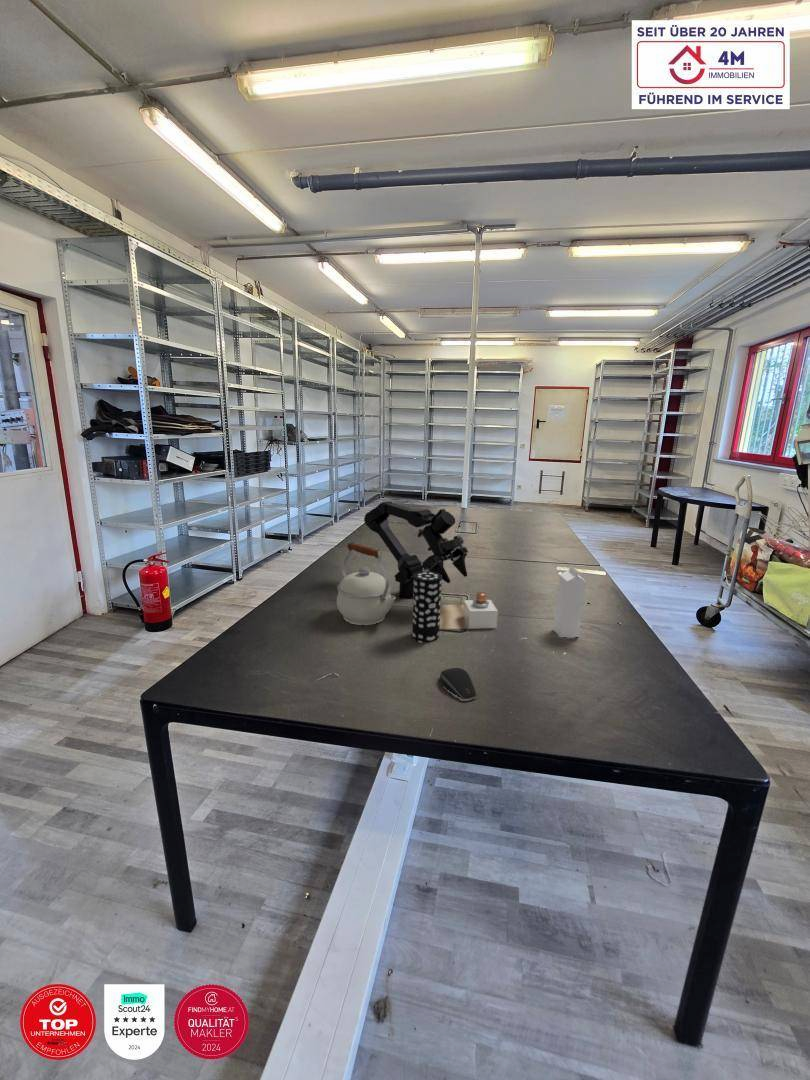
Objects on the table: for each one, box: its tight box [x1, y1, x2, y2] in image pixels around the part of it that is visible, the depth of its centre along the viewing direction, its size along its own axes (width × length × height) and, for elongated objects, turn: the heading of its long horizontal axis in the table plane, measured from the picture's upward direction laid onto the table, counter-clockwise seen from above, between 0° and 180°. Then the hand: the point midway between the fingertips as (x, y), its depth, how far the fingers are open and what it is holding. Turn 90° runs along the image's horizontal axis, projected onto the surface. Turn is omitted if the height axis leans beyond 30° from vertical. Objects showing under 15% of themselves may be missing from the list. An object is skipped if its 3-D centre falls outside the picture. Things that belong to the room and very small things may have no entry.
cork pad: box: [439, 604, 480, 630], centre depth 150 cm, size 19×19×1 cm
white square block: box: [463, 599, 499, 629], centre depth 145 cm, size 9×9×6 cm
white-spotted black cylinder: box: [411, 570, 443, 644], centre depth 133 cm, size 8×8×20 cm
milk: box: [552, 565, 587, 638], centre depth 137 cm, size 6×6×22 cm
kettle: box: [336, 541, 396, 626], centre depth 145 cm, size 25×18×25 cm
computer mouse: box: [439, 667, 478, 699], centre depth 110 cm, size 7×12×4 cm, turn 23°
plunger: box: [472, 591, 489, 607], centre depth 144 cm, size 5×5×9 cm
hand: (458, 579), depth 149 cm, fingers open, 9 cm apart
